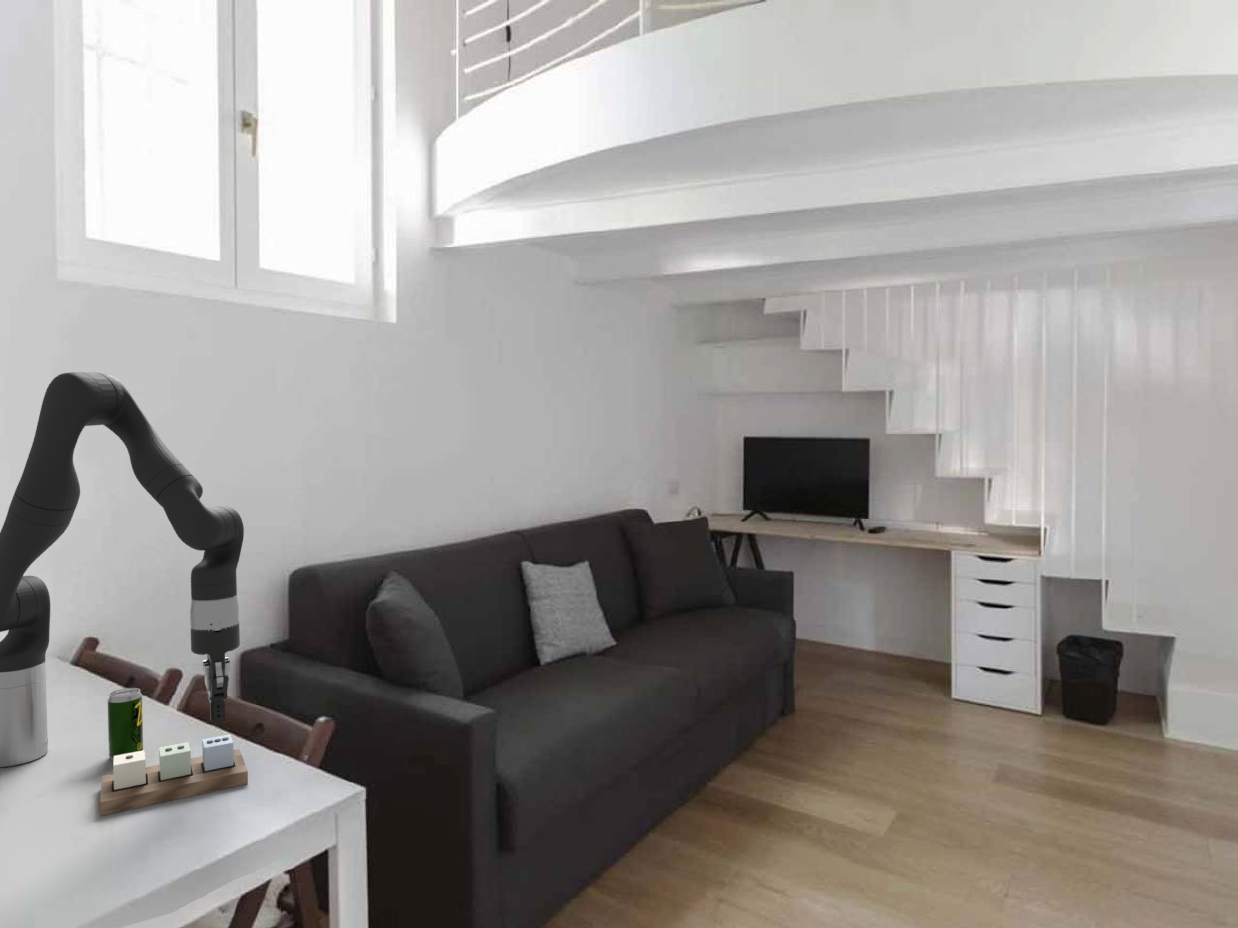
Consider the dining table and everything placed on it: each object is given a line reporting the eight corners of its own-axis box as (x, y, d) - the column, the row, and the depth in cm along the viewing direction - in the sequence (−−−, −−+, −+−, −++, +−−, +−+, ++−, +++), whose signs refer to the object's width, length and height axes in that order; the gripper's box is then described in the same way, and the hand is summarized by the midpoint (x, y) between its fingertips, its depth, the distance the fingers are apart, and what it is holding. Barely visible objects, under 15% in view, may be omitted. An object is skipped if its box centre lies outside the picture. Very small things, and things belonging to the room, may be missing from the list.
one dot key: (114, 789, 125) (113, 764, 125) (114, 779, 129) (113, 754, 129) (145, 783, 128) (145, 758, 127) (145, 773, 131) (144, 748, 131)
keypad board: (100, 815, 122) (100, 802, 122) (102, 788, 131) (101, 775, 131) (247, 783, 133) (247, 770, 133) (239, 760, 142) (239, 748, 142)
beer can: (109, 764, 140) (107, 699, 140) (108, 754, 145) (107, 690, 144) (143, 757, 143) (142, 693, 143) (142, 747, 148) (141, 685, 147)
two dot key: (160, 780, 129) (160, 755, 129) (159, 770, 132) (159, 746, 132) (190, 773, 131) (190, 749, 131) (189, 764, 135) (188, 740, 135)
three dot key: (205, 771, 132) (204, 746, 132) (202, 761, 136) (202, 738, 136) (233, 765, 135) (233, 741, 134) (230, 756, 138) (230, 732, 138)
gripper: (187, 618, 138) (190, 714, 138) (193, 633, 127) (196, 738, 127) (234, 612, 142) (237, 706, 142) (244, 627, 131) (246, 728, 131)
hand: (217, 721), depth 135 cm, fingers closed
